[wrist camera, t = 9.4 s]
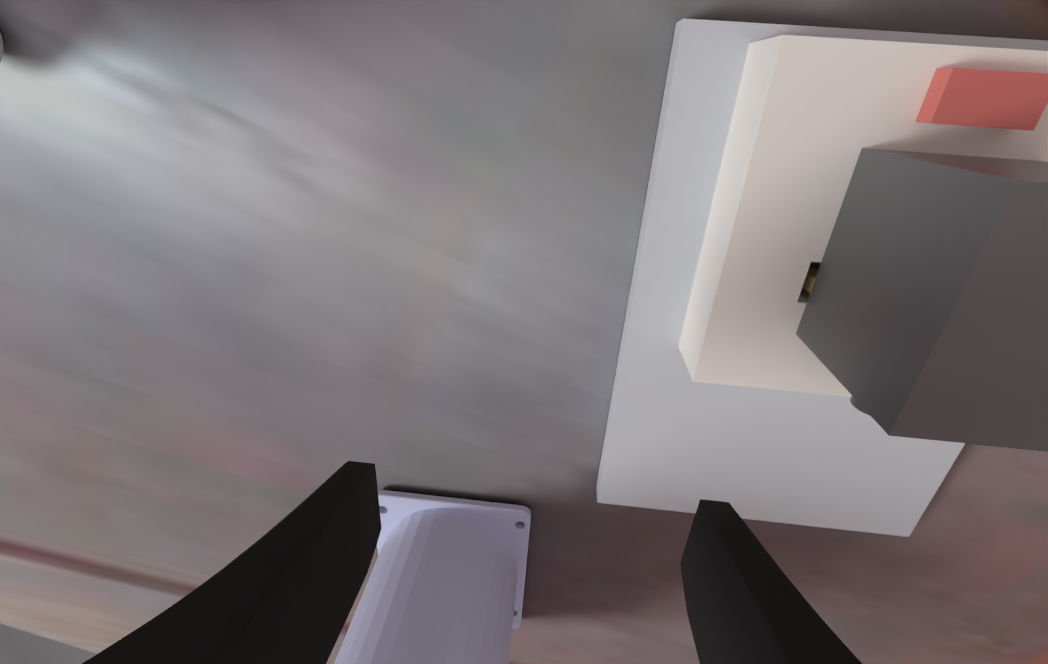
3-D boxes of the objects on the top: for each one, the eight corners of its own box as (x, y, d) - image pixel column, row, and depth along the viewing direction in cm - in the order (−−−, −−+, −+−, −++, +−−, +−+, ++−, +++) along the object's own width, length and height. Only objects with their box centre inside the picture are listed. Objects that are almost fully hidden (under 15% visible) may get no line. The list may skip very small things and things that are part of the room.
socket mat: (895, 519, 23) (908, 537, 22) (596, 486, 23) (597, 502, 22) (1163, 52, 14) (1203, 49, 13) (676, 22, 15) (682, 18, 14)
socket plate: (678, 346, 19) (697, 391, 16) (749, 43, 14) (793, 32, 11) (949, 371, 18) (1018, 423, 15) (1114, 65, 13) (1254, 60, 11)
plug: (767, 359, 17) (861, 489, 11) (839, 143, 14) (1018, 180, 8) (899, 371, 17) (1060, 509, 11) (1004, 155, 14) (1301, 201, 8)
